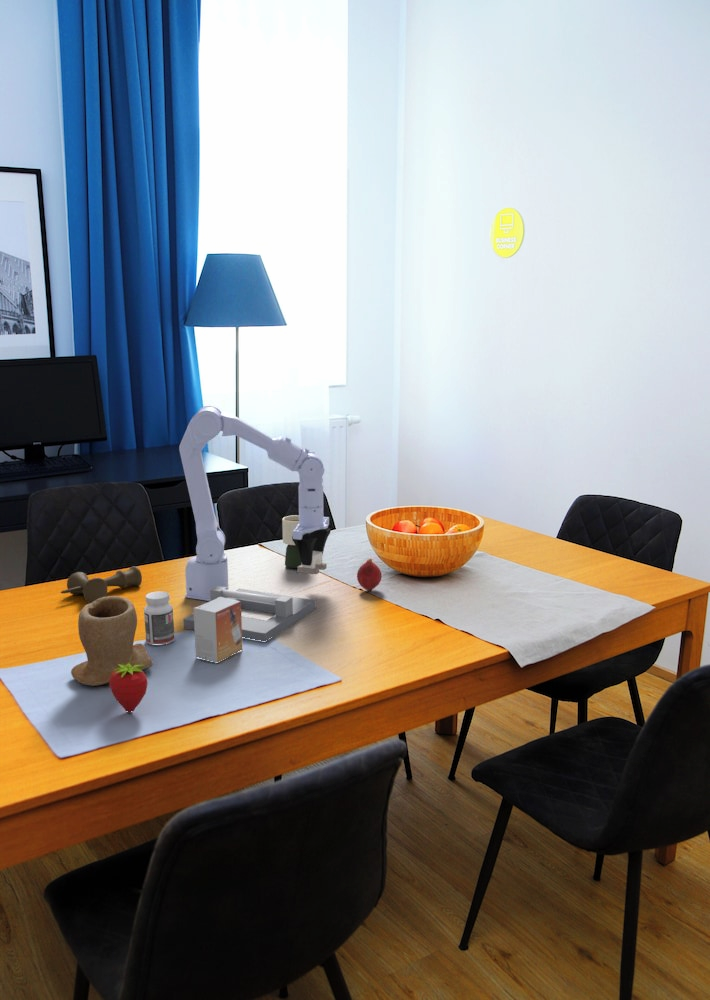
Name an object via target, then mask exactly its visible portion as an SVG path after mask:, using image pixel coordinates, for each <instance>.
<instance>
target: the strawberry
mask: <svg viewBox="0 0 710 1000" xmlns="http://www.w3.org/2000/svg"><path fill="white" fill-rule="evenodd" d="M131 657H132V656H131ZM130 660H131V658H130ZM130 660H129V662H130ZM118 666H119V667H120V668H118V669H113V671H114V670H115V671H114V672H113V673H112V674H111V676H110V681H109V683H108V685H109V687H110V691H111V694H112V696H113V697H114V699H116V701H117V702H118V704H119V705H120V706H121V707H122V708H123V710H124V711H125V712H126V711H128V712H131V711H133V712H134V711H135V709H136V708H137V706H138V705H139V704H140V703H141V702H142V700H143V699H144V697H145V695H146V694H147V688H148V684H149V683H148V679H147V675H146V674H145V672H144V670H140V669H138V667H142V666H145V665H134V666H133V667H132V666H131V665H130V664H129V663H128V664H127V665H121V664H118ZM128 712H127V713H128Z"/></svg>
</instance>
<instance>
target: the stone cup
mask: <svg viewBox="0 0 710 1000" xmlns="http://www.w3.org/2000/svg"><path fill="white" fill-rule="evenodd" d="M137 614H138V613H137V610H136V608H135V606H134V603H133V602H132V601H131V600H130V599H129V598H126V597H124V596H120V595H119V596H118V595H111V596H110V595H108V596H106V597H102V598H99V599H97V600H95V601H93V602H92V603H88V604H85V605H84V606H83V607H82V609H81V610H80V612H79V613H78V620H77V627H78V635H79V640H80V642H81V646H82V647H83V649H84V651H85V655H86V659H87V660H85V661H83V662H80V663H79V664H76V665H75V666H73V667H72V669H71V670H70V674H71V676H72V678H73V679H74V680H75V681H77V682H78V683H80V684H82V685H87V686H92V687H93V686H95V687H97V686H101V685H105V684H109V681H110V676H111V674H112V673H113V672H114V671H115V670H114V671H113V669H118V668H120V667H119V666H118V664H121V665H127V664H128V663H129V664H130V665H131V666H132V667H133V666H134V665H145V666H142V667H138V669H140V670H142V671H144V670H146V669H148V668H151V667H152V666H154V662H153V658H151V656H150V654H149V653H148V652H147V648H146V647H147V646H146V645H144V643H135V636H136V635H135V634H136V631H137V627H138V615H137ZM134 643H135V644H134ZM131 656H132V657H131ZM130 658H131V660H130ZM129 660H130V662H129Z"/></svg>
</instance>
